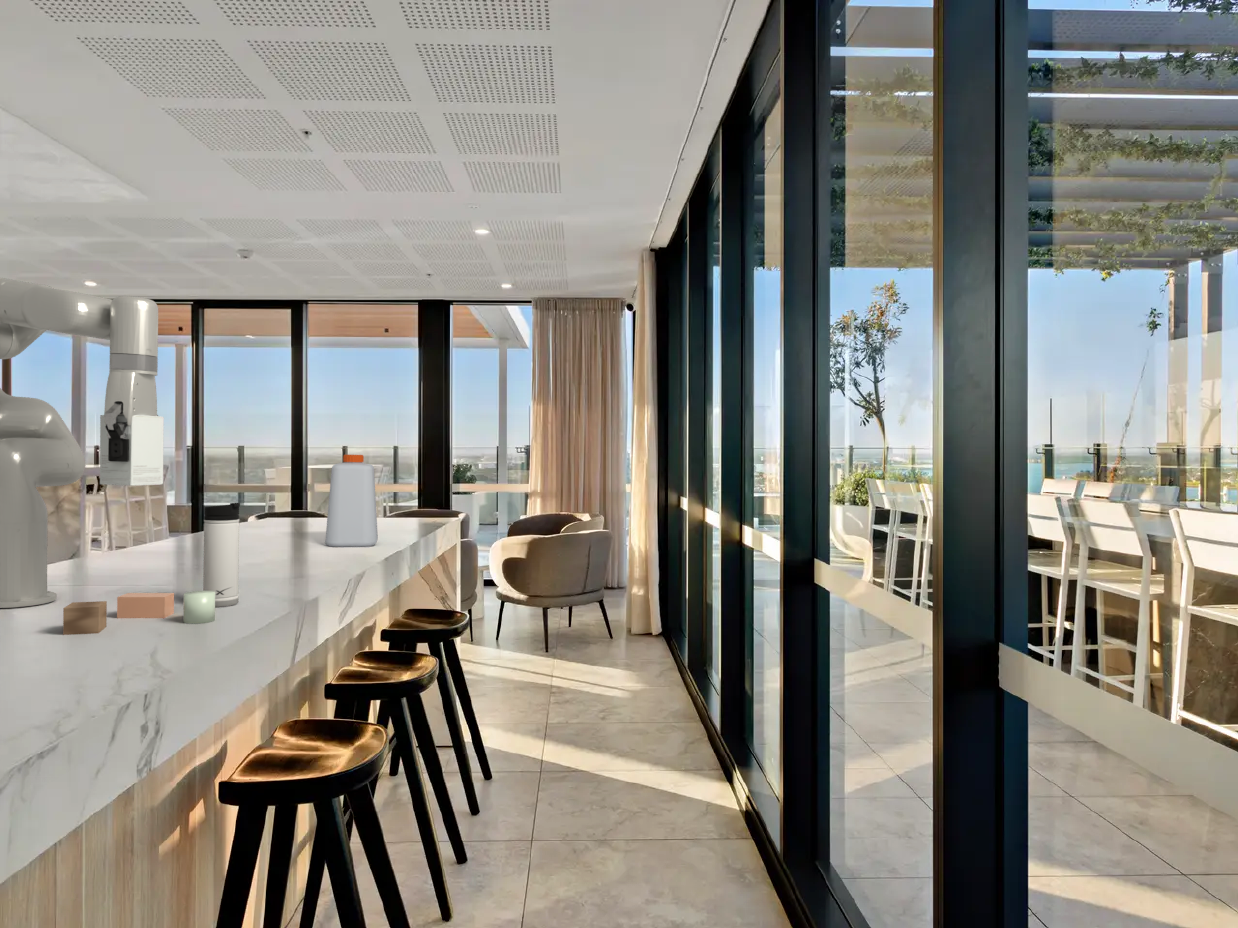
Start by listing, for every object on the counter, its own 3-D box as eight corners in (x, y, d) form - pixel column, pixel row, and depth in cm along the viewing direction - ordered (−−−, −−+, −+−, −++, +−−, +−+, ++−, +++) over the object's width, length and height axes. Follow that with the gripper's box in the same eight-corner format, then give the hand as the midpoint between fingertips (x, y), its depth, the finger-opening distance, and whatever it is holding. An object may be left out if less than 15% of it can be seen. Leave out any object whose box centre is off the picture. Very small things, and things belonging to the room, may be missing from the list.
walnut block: (63, 635, 134) (63, 608, 134) (72, 628, 139) (72, 602, 139) (98, 633, 136) (98, 606, 136) (106, 627, 140) (106, 601, 140)
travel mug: (225, 608, 157) (227, 504, 157) (195, 606, 159) (196, 502, 158) (246, 602, 163) (248, 501, 163) (217, 600, 165) (218, 500, 164)
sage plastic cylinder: (178, 624, 144) (178, 595, 143) (190, 617, 149) (191, 590, 148) (207, 624, 144) (208, 595, 144) (219, 618, 149) (219, 590, 149)
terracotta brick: (117, 619, 147) (117, 596, 147) (127, 614, 151) (127, 592, 151) (164, 619, 148) (164, 597, 148) (173, 614, 152) (174, 592, 152)
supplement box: (164, 484, 152) (165, 416, 152) (130, 486, 145) (131, 414, 145) (133, 482, 154) (134, 415, 154) (97, 484, 147) (98, 413, 147)
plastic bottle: (329, 541, 262) (330, 453, 262) (378, 541, 266) (379, 454, 265) (323, 547, 248) (325, 454, 247) (376, 547, 251) (377, 455, 251)
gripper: (136, 369, 157) (135, 459, 158) (84, 360, 140) (83, 461, 141) (177, 371, 158) (175, 460, 158) (130, 362, 141) (129, 462, 141)
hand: (132, 460), depth 150 cm, fingers closed on supplement box, 9 cm apart
